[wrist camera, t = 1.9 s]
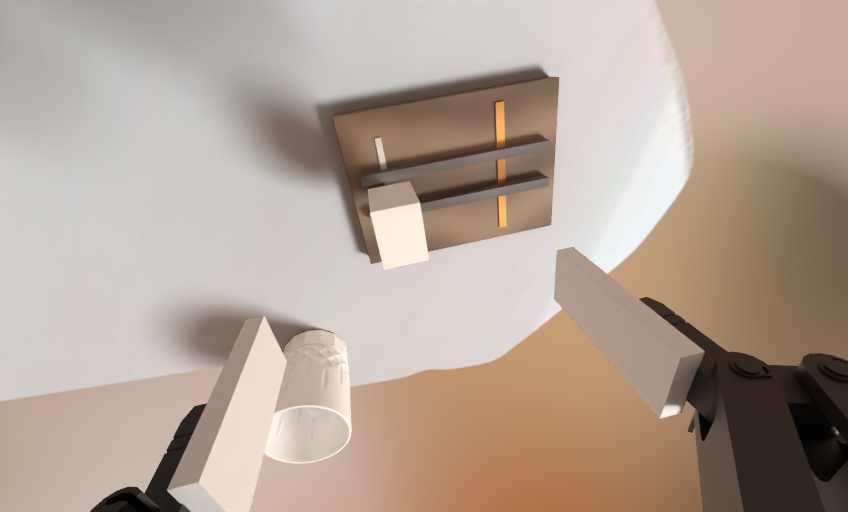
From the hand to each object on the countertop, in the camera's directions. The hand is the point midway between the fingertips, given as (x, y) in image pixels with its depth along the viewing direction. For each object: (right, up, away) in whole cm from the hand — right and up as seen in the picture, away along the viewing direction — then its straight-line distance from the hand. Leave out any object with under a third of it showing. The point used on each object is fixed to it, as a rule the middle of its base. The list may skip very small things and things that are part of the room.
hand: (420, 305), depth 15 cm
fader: (-3, +7, +13) cm, 15 cm away
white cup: (-12, -8, +22) cm, 27 cm away
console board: (+3, +10, +15) cm, 18 cm away
